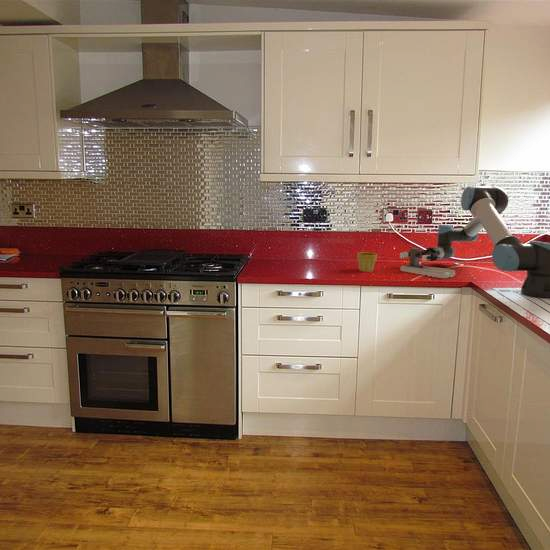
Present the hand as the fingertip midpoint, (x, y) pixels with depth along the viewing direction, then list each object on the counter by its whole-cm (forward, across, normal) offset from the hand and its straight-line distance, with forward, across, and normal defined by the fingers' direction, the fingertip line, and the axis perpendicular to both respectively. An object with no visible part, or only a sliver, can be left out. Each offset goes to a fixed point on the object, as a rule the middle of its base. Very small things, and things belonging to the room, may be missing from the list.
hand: (411, 256), depth 268 cm
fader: (-3, 0, -6) cm, 7 cm away
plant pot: (+17, +16, -9) cm, 25 cm away
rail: (-3, -8, -8) cm, 12 cm away
